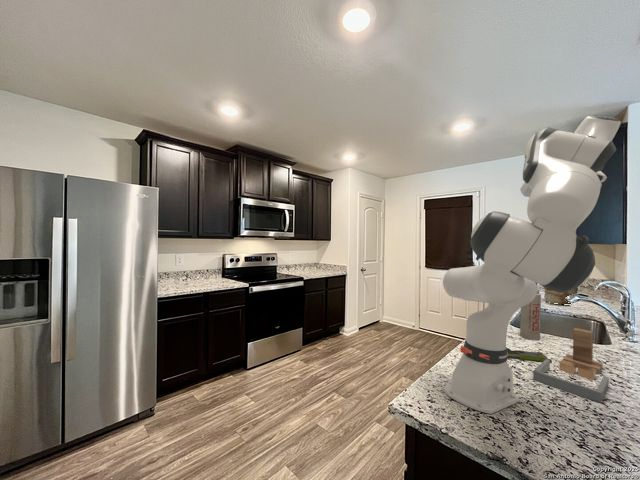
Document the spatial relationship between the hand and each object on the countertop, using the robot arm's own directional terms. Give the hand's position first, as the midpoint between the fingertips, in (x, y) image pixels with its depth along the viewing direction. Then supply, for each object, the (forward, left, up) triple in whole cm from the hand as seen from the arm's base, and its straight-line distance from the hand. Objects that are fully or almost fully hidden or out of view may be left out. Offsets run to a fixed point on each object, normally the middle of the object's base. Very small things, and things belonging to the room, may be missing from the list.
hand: (546, 207), depth 91 cm
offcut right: (+18, -8, -60) cm, 63 cm away
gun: (+20, +13, -61) cm, 65 cm away
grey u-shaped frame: (+7, -6, -60) cm, 60 cm away
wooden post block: (+28, -6, -60) cm, 66 cm away
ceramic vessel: (+160, +25, -60) cm, 172 cm away
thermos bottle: (+49, +16, -60) cm, 79 cm away
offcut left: (+18, -3, -60) cm, 63 cm away
